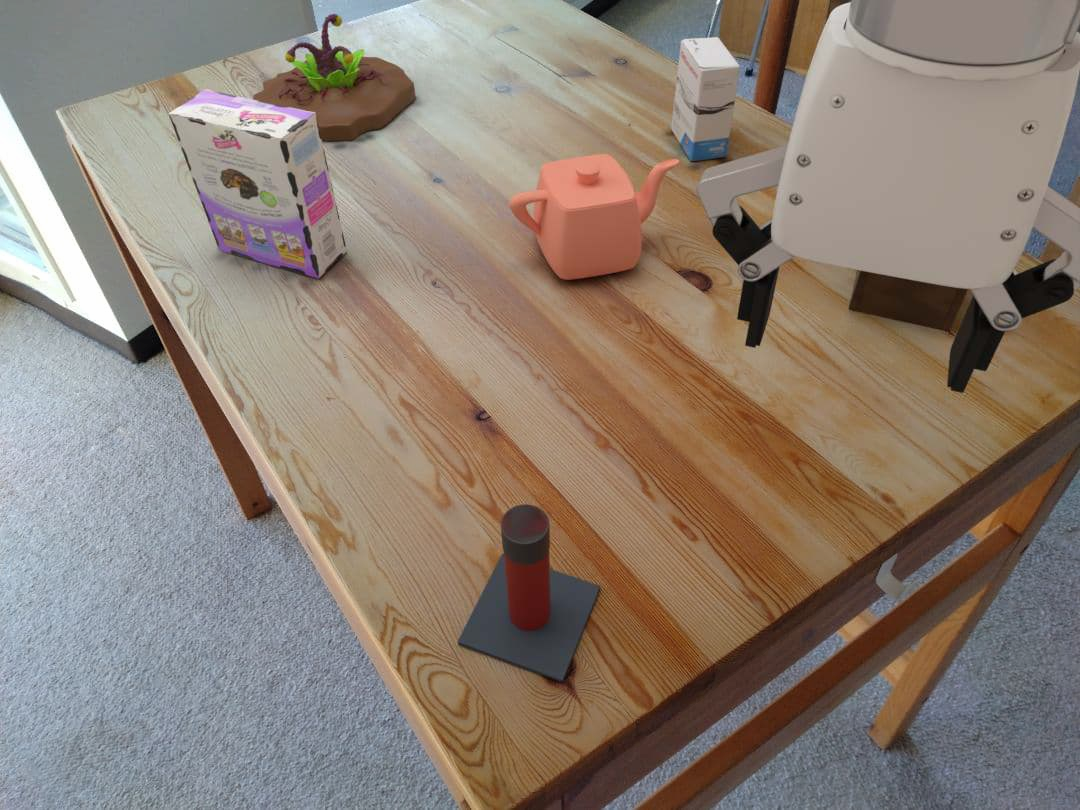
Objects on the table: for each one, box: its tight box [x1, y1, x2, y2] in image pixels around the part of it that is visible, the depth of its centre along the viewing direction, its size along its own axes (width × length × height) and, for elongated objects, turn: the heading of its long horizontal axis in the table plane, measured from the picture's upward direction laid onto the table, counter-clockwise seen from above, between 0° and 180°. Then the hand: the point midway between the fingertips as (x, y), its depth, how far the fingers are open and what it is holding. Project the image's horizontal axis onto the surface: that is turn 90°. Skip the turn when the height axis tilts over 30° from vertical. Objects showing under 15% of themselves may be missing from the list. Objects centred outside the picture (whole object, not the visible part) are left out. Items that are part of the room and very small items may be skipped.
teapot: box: [509, 153, 680, 281], centre depth 89 cm, size 12×18×10 cm, turn 104°
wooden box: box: [848, 270, 969, 332], centre depth 85 cm, size 10×11×6 cm
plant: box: [252, 13, 416, 142], centre depth 113 cm, size 20×20×11 cm
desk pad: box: [457, 552, 601, 683], centre depth 62 cm, size 8×8×1 cm
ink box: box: [670, 36, 741, 162], centre depth 103 cm, size 8×5×12 cm, turn 11°
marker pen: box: [500, 503, 551, 631], centre depth 58 cm, size 3×3×11 cm
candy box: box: [168, 88, 348, 279], centre depth 87 cm, size 14×6×16 cm, turn 65°
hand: (853, 350), depth 42 cm, fingers open, 9 cm apart
